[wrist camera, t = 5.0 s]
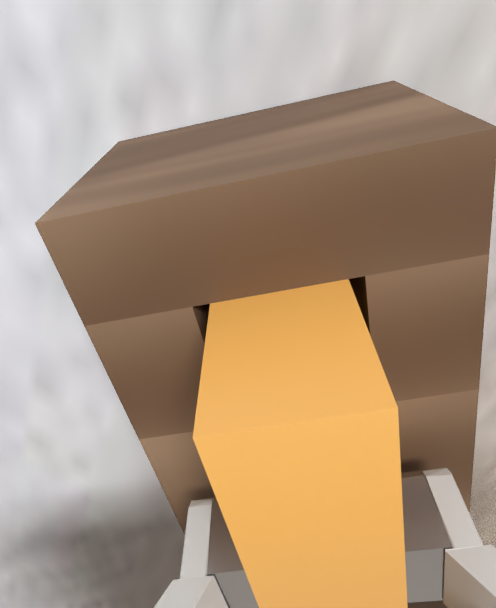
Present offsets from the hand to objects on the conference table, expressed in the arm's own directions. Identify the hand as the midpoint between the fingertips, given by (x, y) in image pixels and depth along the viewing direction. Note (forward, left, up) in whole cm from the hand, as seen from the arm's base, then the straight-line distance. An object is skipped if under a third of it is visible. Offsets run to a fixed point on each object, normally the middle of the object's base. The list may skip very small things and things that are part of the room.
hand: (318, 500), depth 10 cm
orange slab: (0, 0, -6) cm, 6 cm away
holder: (0, 0, -6) cm, 6 cm away
